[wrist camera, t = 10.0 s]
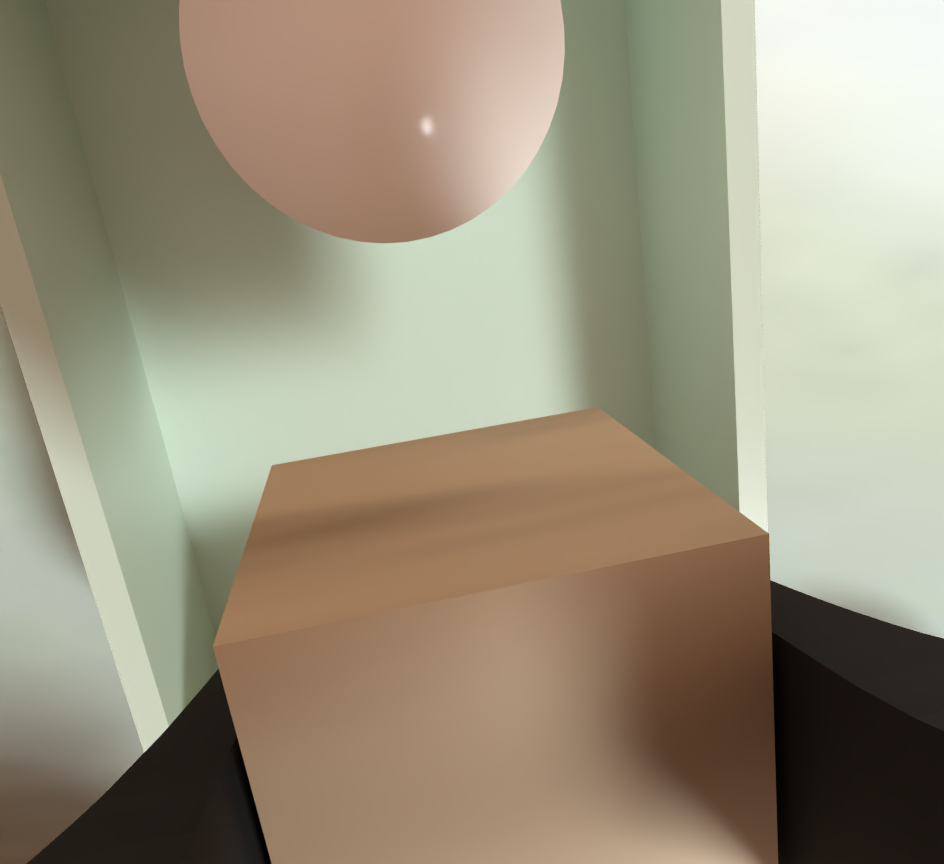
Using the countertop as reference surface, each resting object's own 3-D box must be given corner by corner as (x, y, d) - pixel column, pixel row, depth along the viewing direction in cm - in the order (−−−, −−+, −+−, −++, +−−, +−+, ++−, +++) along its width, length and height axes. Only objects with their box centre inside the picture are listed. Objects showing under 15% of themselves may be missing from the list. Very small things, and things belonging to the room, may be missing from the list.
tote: (677, 566, 21) (770, 666, 17) (205, 662, 20) (159, 801, 15) (632, -141, 16) (747, -288, 12) (-2, -80, 15) (-167, -217, 10)
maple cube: (624, 683, 13) (780, 946, 8) (336, 746, 13) (327, 1068, 8) (597, 406, 12) (768, 533, 7) (272, 465, 11) (212, 647, 6)
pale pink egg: (493, 218, 18) (579, 218, 11) (276, 247, 17) (226, 266, 10) (466, -23, 16) (546, -194, 9) (228, -1, 16) (134, -165, 9)
